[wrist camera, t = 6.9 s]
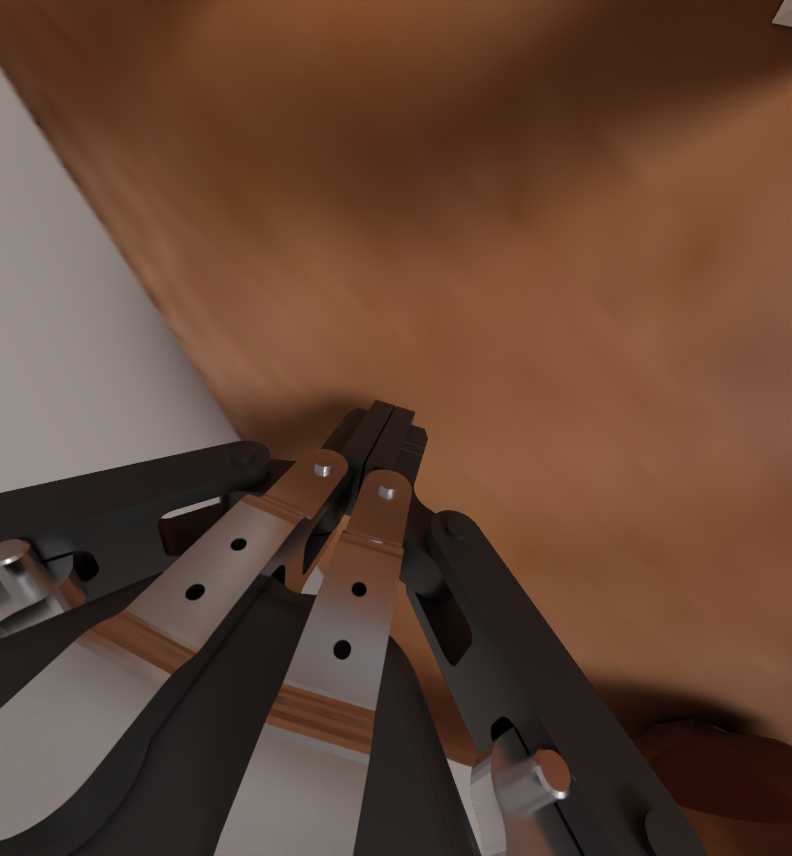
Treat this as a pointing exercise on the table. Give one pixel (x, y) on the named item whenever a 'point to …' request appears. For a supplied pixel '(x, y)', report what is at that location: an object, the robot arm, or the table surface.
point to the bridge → (784, 14)
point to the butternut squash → (725, 785)
